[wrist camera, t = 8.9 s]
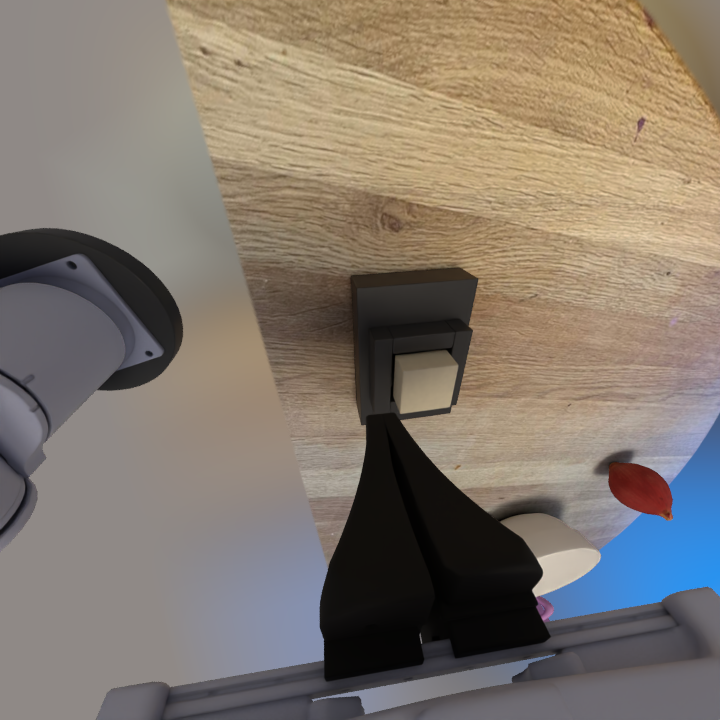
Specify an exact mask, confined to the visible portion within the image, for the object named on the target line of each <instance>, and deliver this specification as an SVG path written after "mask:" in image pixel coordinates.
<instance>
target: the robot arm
mask: <svg viewBox="0 0 720 720" xmlns="http://www.w3.org/2000/svg"><path fill="white" fill-rule="evenodd" d="M71 261H72V262H74V263H75V264H76V266H77V268H76V267H74V266H73V265H72V264H71ZM148 351H151V352H152V353H153V354H150V353H149V352H148ZM163 353H164V348H163V347H162V346H161V344H160V343H159V342H158V341H157V339H156V338H155V337H154V336H153V335H152V333H151V332H150V331H149V330H148V329H147V327H146V326H145V325H144V324H143V323H142V321H141V320H140V319H139V318H138V316H137V315H136V314H135V313H134V312H133V310H132V309H131V308H130V307H129V306H128V304H127V303H126V302H125V301H124V300H123V298H122V297H121V296H120V295H119V293H118V292H117V291H116V290H115V289H114V287H113V286H112V285H111V284H110V283H109V281H108V280H107V279H106V278H105V277H104V275H103V274H102V273H101V272H100V270H99V269H98V268H97V267H96V266H95V264H94V263H93V262H92V261H91V260H90V259H89V258H88V257H87V256H86V255H84V254H80V253H78V254H74V255H71V256H68V257H65V258H62V259H59V260H56V261H53V262H50V263H47V264H44V265H41V266H38V267H35V268H33V269H30V270H27V271H24V272H21V273H18V274H15V275H12V276H9V277H6V278H3V279H0V552H1V551H2V550H3V549H4V548H5V547H6V546H7V545H8V544H9V543H10V542H11V541H12V540H13V539H14V538H15V536H16V535H17V534H18V533H19V532H20V531H21V530H22V528H23V527H24V525H25V524H26V523H27V521H28V520H29V518H30V516H31V515H32V513H33V511H34V508H35V505H36V502H37V489H36V486H35V484H34V483H33V482H32V481H31V480H30V479H29V476H30V475H31V474H32V473H33V472H34V471H35V470H36V469H37V468H38V467H39V466H40V464H42V462H43V461H44V460H45V459H46V456H45V454H44V453H43V450H42V446H43V444H44V442H46V441H47V440H48V439H49V438H50V437H51V436H52V435H53V433H55V432H56V430H57V429H58V428H59V427H61V425H62V424H64V422H65V421H66V420H67V419H68V418H69V417H70V416H71V415H72V414H73V413H74V412H75V411H76V410H77V409H78V408H79V407H80V406H81V405H82V404H83V403H84V402H85V401H86V400H87V399H88V398H89V397H90V396H91V395H92V394H93V393H94V392H95V391H96V390H97V389H98V388H99V387H100V386H101V385H102V384H103V383H104V382H105V381H106V380H107V379H108V378H109V377H110V376H111V375H112V374H113V373H114V372H115V371H117V370H121V369H124V368H127V367H130V366H133V365H136V364H139V363H142V362H145V361H148V360H151V359H154V358H157V357H160V356H162V354H163ZM542 576H543V569H542V567H541V566H540V564H539V562H538V560H537V559H536V557H535V555H534V554H533V552H532V551H531V549H530V548H529V547H528V545H527V544H526V542H525V541H524V539H523V538H522V537H520V536H519V535H517V534H516V533H514V532H513V531H511V530H510V529H509V528H507V527H506V526H504V525H503V524H502V523H500V522H499V521H497V520H496V519H495V518H493V517H492V516H491V515H490V514H488V513H487V512H486V511H484V510H483V509H482V508H480V507H479V506H478V505H477V504H476V503H475V502H473V501H472V500H471V499H470V498H469V497H467V496H466V495H465V494H464V493H463V492H462V491H460V490H459V489H458V488H457V487H456V486H455V485H454V484H453V483H452V482H451V481H450V480H449V479H448V478H447V477H446V476H445V475H444V474H443V473H442V472H441V471H440V470H439V469H438V468H437V467H436V466H435V465H434V464H433V463H432V461H431V460H430V459H429V458H428V457H427V456H426V455H425V453H424V452H423V451H422V450H421V448H420V447H419V446H418V445H417V443H416V442H415V441H414V440H413V438H412V437H411V436H410V434H409V433H408V431H407V430H406V429H405V427H404V426H403V424H402V423H401V421H400V419H399V418H398V416H397V414H396V413H394V412H393V413H383V414H374V415H368V416H367V417H366V451H365V457H364V463H363V468H362V473H361V477H360V481H359V485H358V488H357V492H356V495H355V499H354V502H353V505H352V508H351V511H350V514H349V517H348V520H347V522H346V525H345V528H344V530H343V533H342V536H341V538H340V540H339V543H338V545H337V547H336V550H335V552H334V554H333V557H332V559H331V561H330V564H329V568H328V572H327V575H326V579H325V583H324V586H323V590H322V595H321V600H320V629H321V632H322V635H323V638H324V661H319V662H314V663H308V664H302V665H296V666H290V667H285V668H279V669H273V670H267V671H261V672H256V673H250V674H244V675H239V676H233V677H227V678H221V679H215V680H210V681H204V682H198V683H192V684H187V685H181V686H175V687H169V685H167V684H166V683H163V682H149V683H143V684H137V685H131V686H125V687H119V688H114V689H111V690H110V691H109V692H108V693H107V694H106V697H105V699H104V701H103V704H102V706H101V709H100V711H99V713H98V716H97V718H96V720H720V597H719V596H718V595H717V594H716V593H715V592H714V591H713V589H711V588H709V587H703V588H697V589H691V590H686V591H680V592H676V593H674V594H671V595H669V596H667V597H665V598H664V599H663V600H662V602H659V603H653V604H647V605H641V606H636V607H630V608H624V609H618V610H613V611H607V612H602V613H595V614H590V615H584V616H578V617H572V618H567V619H561V620H555V621H549V622H543V620H542V618H541V616H540V614H539V612H538V610H537V608H536V606H537V605H538V601H537V599H536V597H535V595H534V593H533V591H532V590H533V588H534V587H535V586H536V585H537V584H538V582H539V581H540V580H541V578H542ZM420 633H421V639H422V644H421V641H420V636H419V635H420ZM554 654H555V656H553V657H549V658H546V659H543V660H539V661H536V662H533V663H530V664H529V665H528V668H527V669H525V670H524V671H523V672H521V673H519V674H517V675H515V676H513V677H512V682H513V683H511V684H504V685H498V686H493V687H487V688H481V689H476V690H471V691H466V692H461V693H456V694H451V695H446V696H442V697H437V698H433V699H428V700H424V701H420V702H415V703H411V704H407V705H403V706H399V707H395V708H391V709H386V710H382V711H379V712H374V713H370V714H366V715H365V713H364V708H363V707H362V705H361V699H360V698H359V697H358V696H357V697H356V696H355V697H339V698H327V699H321V700H317V701H314V702H313V701H312V700H311V699H315V698H321V697H326V696H332V695H336V694H342V693H348V692H353V691H359V690H364V689H369V688H375V687H380V686H386V685H391V684H397V683H402V682H407V681H413V680H418V679H424V678H429V677H434V676H440V675H445V674H450V673H456V672H462V671H467V670H473V669H478V668H483V667H489V666H494V665H500V664H505V663H510V662H516V661H521V660H527V659H531V658H537V657H543V656H548V655H554Z"/></svg>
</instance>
